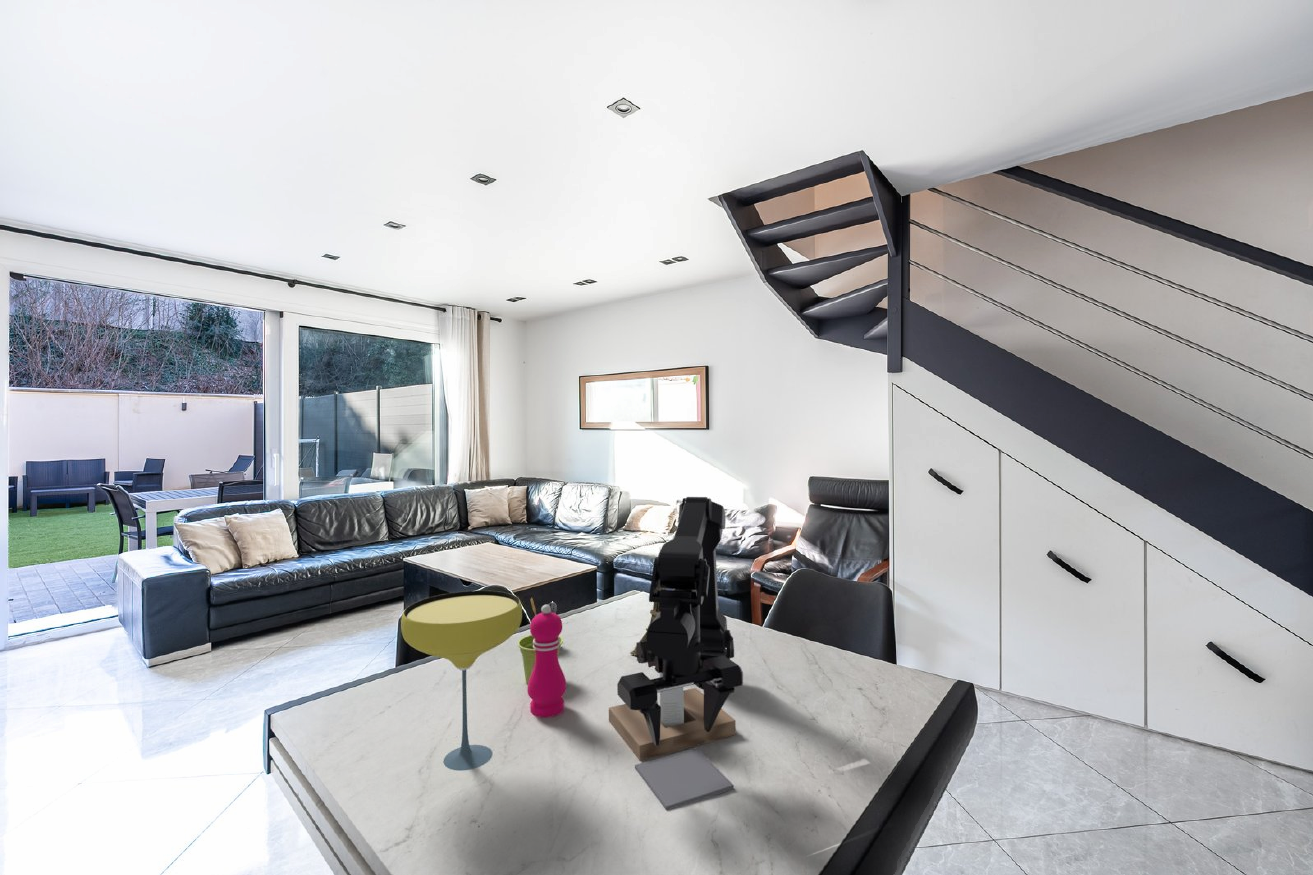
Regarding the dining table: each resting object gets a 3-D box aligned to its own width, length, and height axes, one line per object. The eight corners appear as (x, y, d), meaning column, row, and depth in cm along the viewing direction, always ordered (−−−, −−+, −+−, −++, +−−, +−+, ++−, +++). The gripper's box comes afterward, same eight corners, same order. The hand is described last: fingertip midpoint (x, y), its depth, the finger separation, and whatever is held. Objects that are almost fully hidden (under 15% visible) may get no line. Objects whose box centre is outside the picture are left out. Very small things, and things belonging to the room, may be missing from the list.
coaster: (696, 751, 93) (696, 747, 93) (733, 789, 83) (733, 784, 83) (634, 768, 88) (634, 764, 88) (665, 811, 78) (665, 806, 78)
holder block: (695, 700, 110) (695, 687, 110) (735, 734, 97) (735, 720, 97) (608, 721, 102) (608, 707, 102) (639, 761, 90) (639, 745, 90)
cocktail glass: (455, 814, 78) (453, 632, 78) (378, 774, 87) (376, 612, 87) (547, 751, 93) (545, 599, 93) (472, 723, 103) (470, 585, 102)
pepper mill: (558, 722, 103) (556, 611, 102) (521, 718, 104) (519, 609, 104) (572, 703, 110) (570, 600, 110) (537, 700, 111) (535, 598, 111)
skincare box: (656, 720, 103) (656, 654, 103) (680, 718, 103) (679, 653, 103) (660, 737, 97) (659, 667, 97) (684, 736, 97) (684, 666, 97)
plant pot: (568, 673, 124) (568, 633, 124) (556, 692, 114) (556, 649, 114) (526, 672, 125) (526, 632, 125) (511, 691, 115) (511, 648, 115)
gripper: (707, 610, 96) (708, 701, 96) (604, 627, 88) (605, 727, 89) (744, 630, 86) (745, 732, 86) (631, 651, 78) (632, 764, 78)
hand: (682, 737), depth 85 cm, fingers open, 8 cm apart
